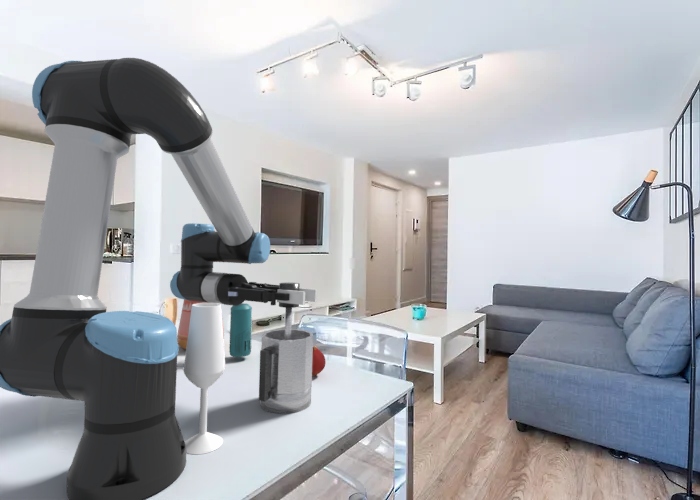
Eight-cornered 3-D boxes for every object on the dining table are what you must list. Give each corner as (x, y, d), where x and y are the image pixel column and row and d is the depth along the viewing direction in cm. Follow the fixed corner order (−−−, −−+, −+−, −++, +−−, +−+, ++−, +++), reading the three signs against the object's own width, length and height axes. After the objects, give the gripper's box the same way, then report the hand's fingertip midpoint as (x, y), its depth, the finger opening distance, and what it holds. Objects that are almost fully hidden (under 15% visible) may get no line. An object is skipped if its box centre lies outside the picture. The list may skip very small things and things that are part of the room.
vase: (213, 340, 133) (215, 258, 133) (231, 349, 122) (233, 259, 122) (170, 346, 123) (173, 257, 123) (185, 356, 112) (188, 259, 112)
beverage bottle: (244, 362, 108) (246, 294, 108) (224, 360, 110) (226, 293, 110) (254, 356, 115) (256, 292, 115) (235, 354, 116) (237, 291, 116)
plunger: (292, 379, 76) (295, 286, 76) (260, 373, 80) (263, 283, 80) (311, 368, 84) (314, 283, 84) (282, 363, 87) (284, 281, 87)
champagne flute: (181, 437, 65) (185, 302, 65) (221, 431, 68) (225, 301, 68) (181, 457, 59) (185, 308, 59) (225, 449, 62) (229, 307, 62)
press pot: (284, 424, 71) (286, 347, 71) (239, 412, 76) (241, 339, 76) (319, 398, 85) (321, 332, 84) (279, 389, 89) (281, 327, 89)
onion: (307, 371, 103) (308, 342, 103) (327, 373, 102) (328, 344, 102) (300, 378, 97) (301, 347, 97) (321, 380, 96) (322, 349, 96)
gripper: (249, 300, 97) (328, 308, 87) (197, 309, 81) (286, 321, 72) (250, 271, 97) (329, 276, 87) (198, 275, 81) (288, 282, 71)
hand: (310, 296), depth 79 cm, fingers closed on plunger, 4 cm apart
